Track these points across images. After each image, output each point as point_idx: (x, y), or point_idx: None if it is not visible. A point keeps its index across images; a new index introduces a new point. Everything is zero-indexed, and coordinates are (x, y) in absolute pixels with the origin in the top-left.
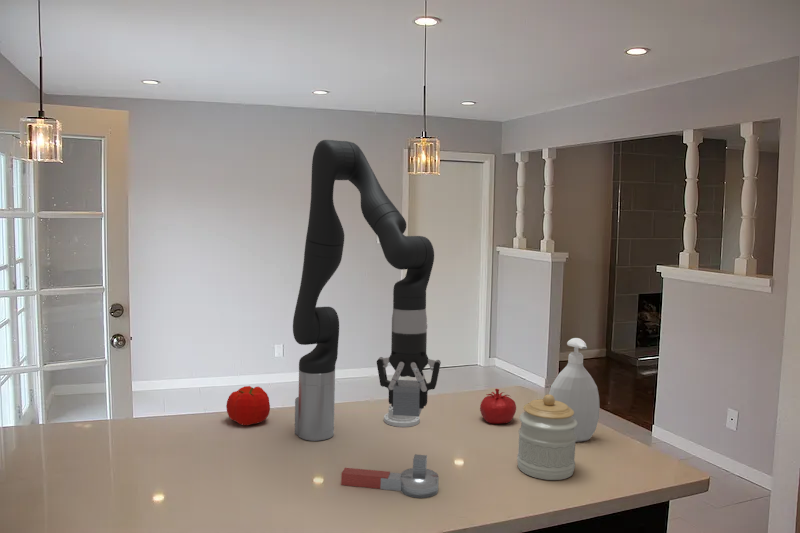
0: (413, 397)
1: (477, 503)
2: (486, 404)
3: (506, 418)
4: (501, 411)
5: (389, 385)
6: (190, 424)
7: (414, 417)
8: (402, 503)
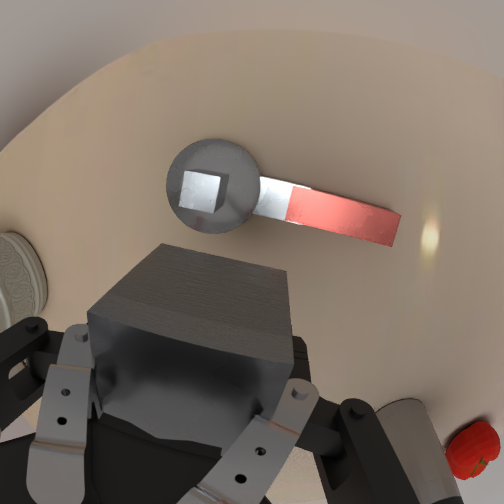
0: (155, 289)
1: (111, 129)
2: None
3: None
4: None
5: (312, 401)
6: None
7: None
8: (261, 115)
